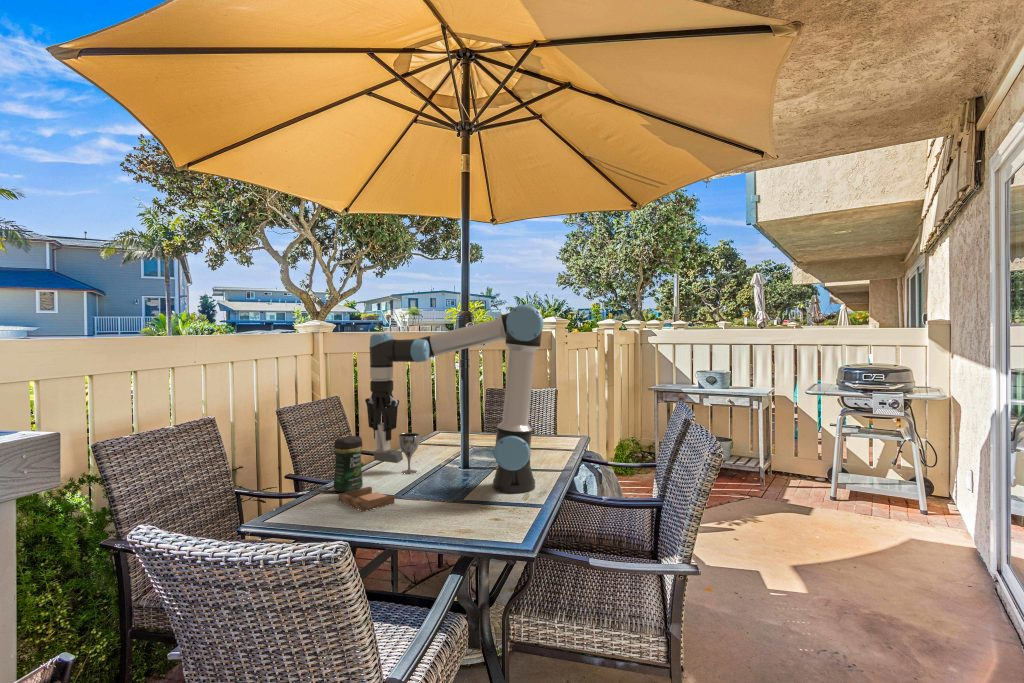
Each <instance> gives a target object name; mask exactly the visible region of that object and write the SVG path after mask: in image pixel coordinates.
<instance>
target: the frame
mask: <svg viewBox="0 0 1024 683" xmlns="http://www.w3.org/2000/svg"><path fill="white" fill-rule="evenodd" d="M371 493H373V487H371V486H367V487H361V488H359V489H356V490H353V491H348V492H342V493H341V492H339V493H338V502H339V501H341V502H343V503H345V504H344V505H346V504H347V505H346V506H348V505H349V506H348V507H350V506H352V507H351V508H353V507H354V508H353V509H355V508H356V510H357V509H359V510H358V511H360V510H361V511H360V512H362V511H365V512H367V511H366V510H368V511H371V510H370V509H372V510H374V509H373V508H376V509H378V508H377V507H380V508H382V506H383V507H386V506H385V505H387V506H390V505H389V504H391V505H394V504H395V495H393V494H391V495H386V496H385V497H381V498H378V499H374V500H370V501H366V502H364V501H361V500H359V499H358V497H359V496H363V495H367V494H371ZM341 502H340V503H341ZM343 503H342V504H343ZM393 503H394V504H393Z"/></svg>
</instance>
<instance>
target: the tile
mask: <svg viewBox="0 0 1024 683" xmlns="http://www.w3.org/2000/svg"><path fill="white" fill-rule="evenodd" d="M385 496H387V495H386V494H384V493H380V492H377V491H375V492H372V493H371V494H367V495H363V496H359V497H358V498H357V499H359V500H361V501H364V502H366V501H370V500H374V499H378V498H381V497H385Z"/></svg>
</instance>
